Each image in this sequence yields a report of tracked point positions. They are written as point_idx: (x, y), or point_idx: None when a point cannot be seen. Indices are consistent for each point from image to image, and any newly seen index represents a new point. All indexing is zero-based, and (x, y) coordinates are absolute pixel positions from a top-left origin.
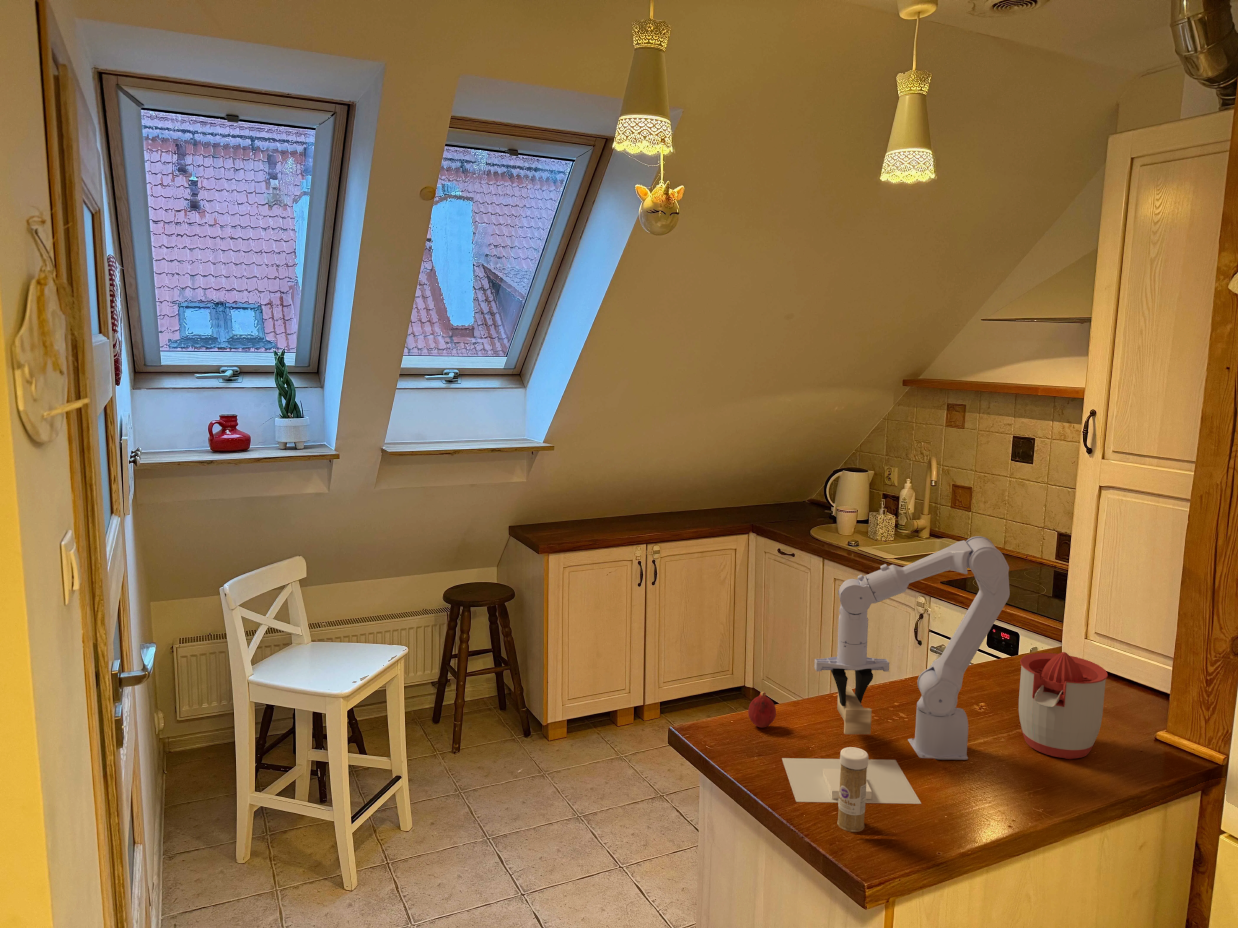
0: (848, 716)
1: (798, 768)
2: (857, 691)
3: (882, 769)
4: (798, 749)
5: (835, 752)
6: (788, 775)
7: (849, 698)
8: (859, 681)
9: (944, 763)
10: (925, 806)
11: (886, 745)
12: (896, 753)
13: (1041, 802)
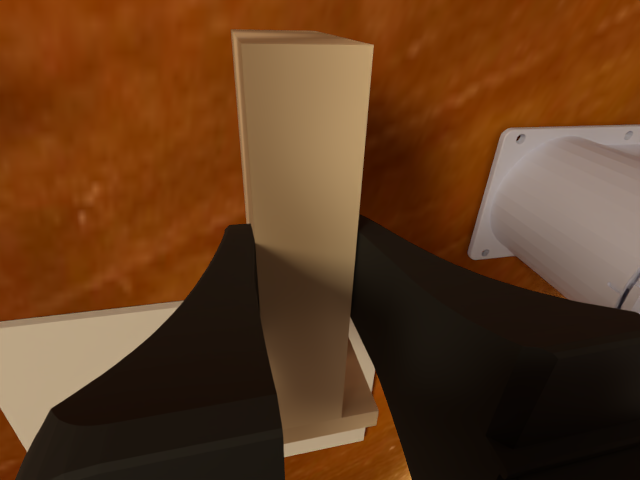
0: None
1: (44, 380)
2: (373, 311)
3: None
4: (24, 234)
5: (194, 240)
6: (12, 420)
7: (291, 314)
8: (415, 439)
9: (518, 264)
10: (369, 432)
11: (408, 167)
12: (415, 222)
13: None
